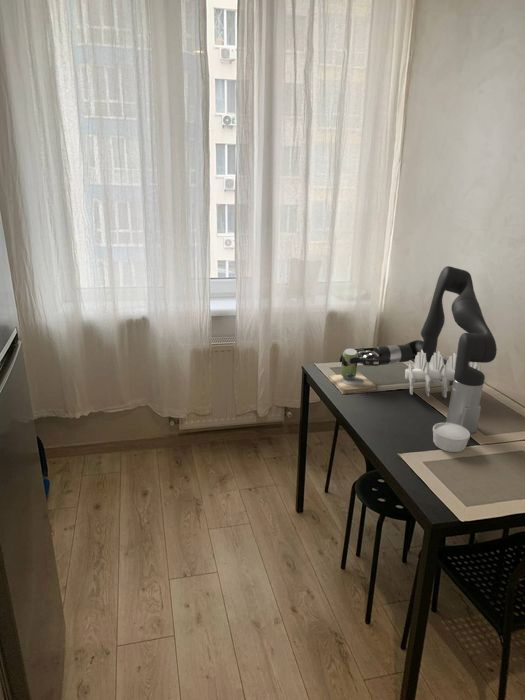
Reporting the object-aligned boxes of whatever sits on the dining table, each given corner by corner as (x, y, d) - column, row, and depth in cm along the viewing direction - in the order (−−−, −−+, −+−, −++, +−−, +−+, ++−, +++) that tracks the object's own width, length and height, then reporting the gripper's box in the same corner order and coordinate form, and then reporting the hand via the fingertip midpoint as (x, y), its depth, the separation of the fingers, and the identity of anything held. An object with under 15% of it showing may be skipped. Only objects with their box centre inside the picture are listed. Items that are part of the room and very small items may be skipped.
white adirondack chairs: (401, 397, 203) (467, 399, 200) (409, 397, 185) (480, 399, 182) (402, 351, 205) (467, 353, 202) (409, 347, 187) (480, 348, 184)
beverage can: (354, 373, 208) (358, 346, 203) (356, 381, 201) (360, 354, 196) (339, 372, 208) (342, 345, 203) (340, 380, 202) (343, 353, 197)
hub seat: (375, 389, 199) (376, 385, 199) (343, 393, 195) (343, 388, 195) (359, 375, 212) (359, 371, 211) (328, 378, 208) (328, 374, 207)
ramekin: (438, 432, 169) (440, 418, 167) (472, 444, 162) (475, 430, 161) (424, 445, 161) (427, 431, 159) (460, 458, 154) (463, 443, 152)
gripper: (378, 340, 209) (340, 343, 204) (397, 352, 196) (356, 356, 191) (376, 357, 211) (339, 361, 207) (394, 370, 199) (355, 374, 194)
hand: (347, 359), depth 199 cm, fingers closed on beverage can, 3 cm apart
